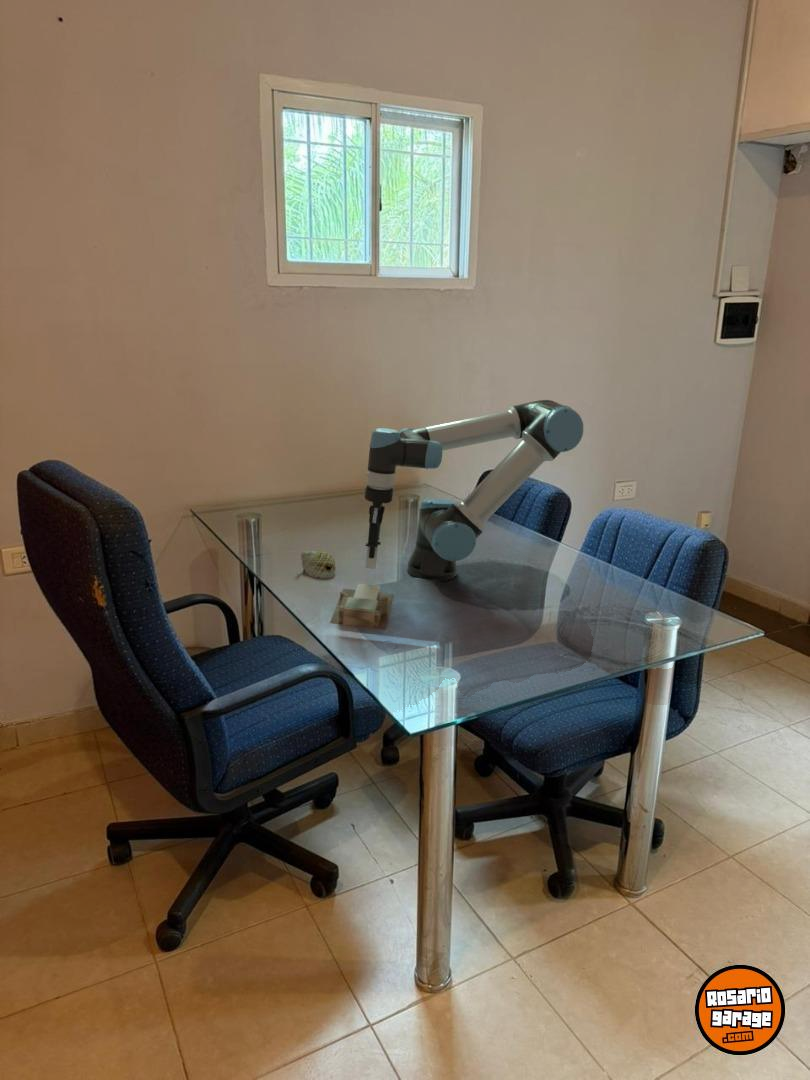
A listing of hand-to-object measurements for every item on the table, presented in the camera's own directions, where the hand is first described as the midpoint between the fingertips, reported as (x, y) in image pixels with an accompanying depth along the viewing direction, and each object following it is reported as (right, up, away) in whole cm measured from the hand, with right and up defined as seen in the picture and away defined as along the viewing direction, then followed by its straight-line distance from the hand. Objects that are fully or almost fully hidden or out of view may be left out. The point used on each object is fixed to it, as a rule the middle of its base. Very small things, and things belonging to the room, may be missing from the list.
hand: (370, 567), depth 209 cm
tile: (-1, -8, -9) cm, 12 cm away
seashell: (-16, -3, +7) cm, 18 cm away
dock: (-1, -11, -14) cm, 18 cm away
